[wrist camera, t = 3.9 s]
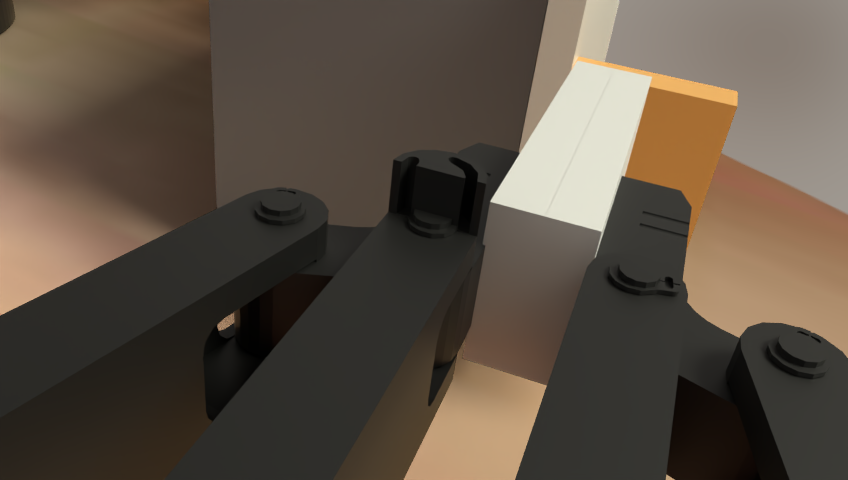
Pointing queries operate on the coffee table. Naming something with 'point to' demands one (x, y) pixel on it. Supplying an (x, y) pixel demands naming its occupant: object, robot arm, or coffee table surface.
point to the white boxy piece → (663, 111)
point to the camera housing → (362, 91)
